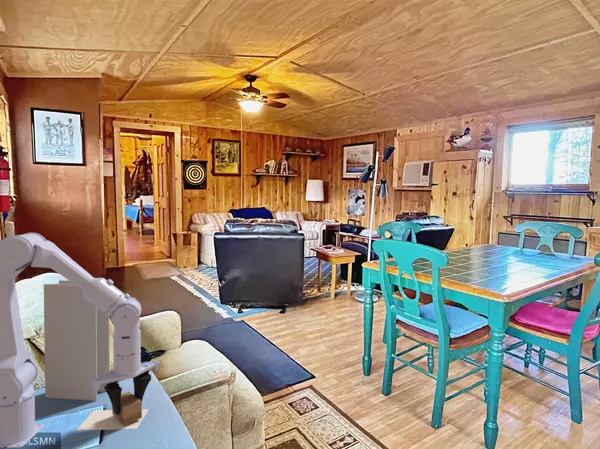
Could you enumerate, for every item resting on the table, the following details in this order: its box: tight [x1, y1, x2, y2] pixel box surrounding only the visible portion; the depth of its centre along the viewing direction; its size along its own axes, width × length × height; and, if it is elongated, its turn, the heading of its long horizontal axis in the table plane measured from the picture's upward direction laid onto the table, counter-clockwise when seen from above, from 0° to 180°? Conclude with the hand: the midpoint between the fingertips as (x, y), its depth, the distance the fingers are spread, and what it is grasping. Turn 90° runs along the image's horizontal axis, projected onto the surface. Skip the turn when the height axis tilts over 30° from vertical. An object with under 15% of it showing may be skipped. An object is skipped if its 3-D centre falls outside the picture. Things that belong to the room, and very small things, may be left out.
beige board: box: [76, 408, 149, 431], centre depth 86 cm, size 13×8×1 cm, turn 94°
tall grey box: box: [43, 279, 111, 402], centre depth 97 cm, size 14×6×30 cm, turn 84°
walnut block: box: [111, 391, 143, 425], centre depth 86 cm, size 7×4×4 cm, turn 48°
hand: (127, 408), depth 86 cm, fingers open, 4 cm apart
